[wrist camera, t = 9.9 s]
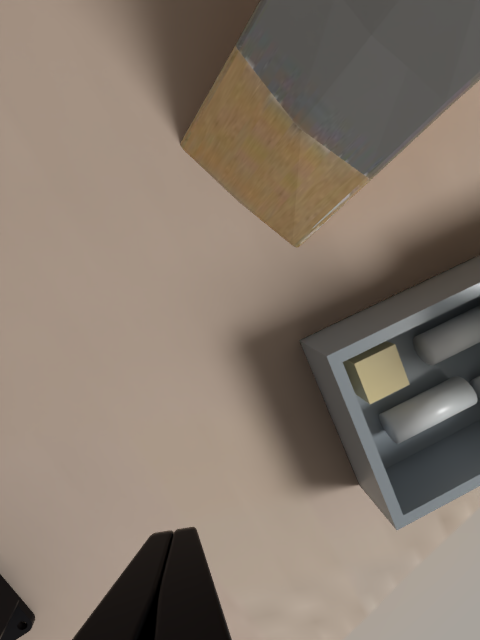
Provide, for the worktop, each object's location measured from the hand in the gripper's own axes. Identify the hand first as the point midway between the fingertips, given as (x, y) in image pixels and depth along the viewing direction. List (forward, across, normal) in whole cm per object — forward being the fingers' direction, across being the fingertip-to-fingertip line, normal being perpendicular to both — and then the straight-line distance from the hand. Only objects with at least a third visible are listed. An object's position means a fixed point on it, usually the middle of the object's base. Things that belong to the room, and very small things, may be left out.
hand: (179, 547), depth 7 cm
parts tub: (+15, -13, +4) cm, 20 cm away
